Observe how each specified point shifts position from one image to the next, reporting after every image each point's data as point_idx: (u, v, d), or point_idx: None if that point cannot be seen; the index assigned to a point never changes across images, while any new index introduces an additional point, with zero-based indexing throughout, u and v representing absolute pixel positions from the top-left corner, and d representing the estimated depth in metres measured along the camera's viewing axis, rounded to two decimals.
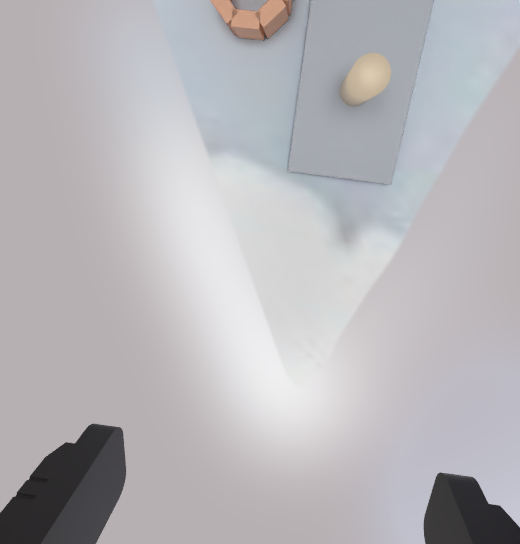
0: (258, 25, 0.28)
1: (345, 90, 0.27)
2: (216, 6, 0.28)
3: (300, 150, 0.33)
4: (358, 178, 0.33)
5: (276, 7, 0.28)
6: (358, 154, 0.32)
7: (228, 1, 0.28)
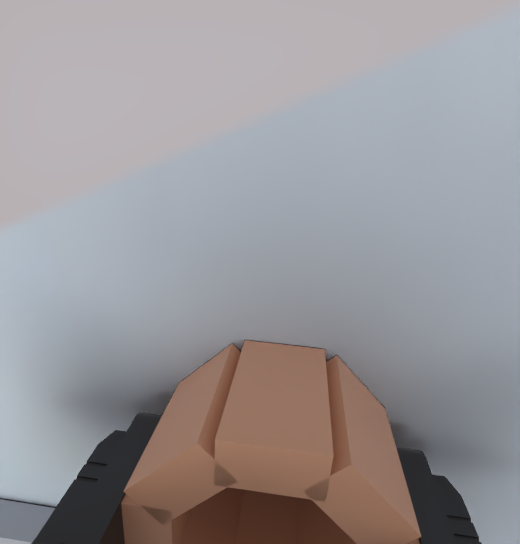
0: None
1: None
2: (172, 465, 0.07)
3: None
4: None
5: None
6: None
7: (192, 502, 0.07)
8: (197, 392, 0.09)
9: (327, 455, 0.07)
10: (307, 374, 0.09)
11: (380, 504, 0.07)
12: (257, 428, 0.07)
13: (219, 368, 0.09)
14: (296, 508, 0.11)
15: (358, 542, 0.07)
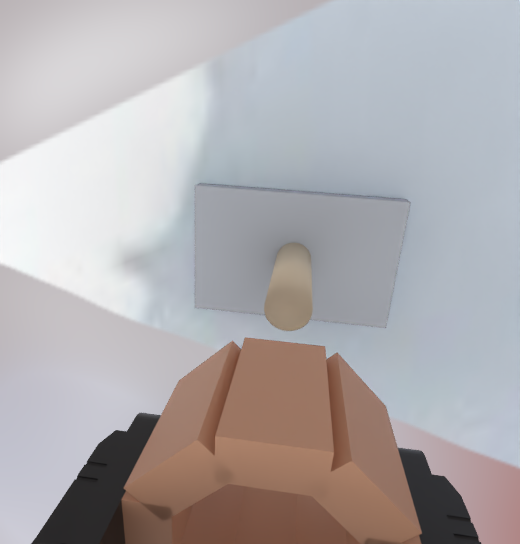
0: None
1: (283, 263, 0.22)
2: (172, 462, 0.07)
3: (222, 200, 0.26)
4: (196, 272, 0.28)
5: None
6: (223, 269, 0.27)
7: (192, 499, 0.07)
8: (197, 389, 0.09)
9: (328, 451, 0.07)
10: (307, 371, 0.09)
11: (381, 501, 0.07)
12: (257, 425, 0.07)
13: (219, 365, 0.09)
14: (296, 506, 0.11)
15: (358, 539, 0.07)
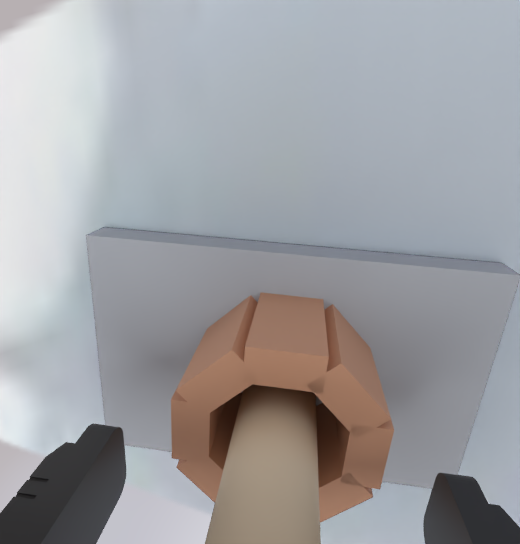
0: (180, 456, 0.11)
1: (252, 428, 0.10)
2: (213, 368, 0.10)
3: (140, 264, 0.13)
4: (105, 387, 0.15)
5: None
6: (152, 385, 0.15)
7: (226, 397, 0.10)
8: (225, 327, 0.12)
9: (324, 356, 0.09)
10: (309, 313, 0.12)
11: (361, 394, 0.10)
12: (274, 341, 0.10)
13: (242, 310, 0.12)
14: None
15: (346, 426, 0.10)
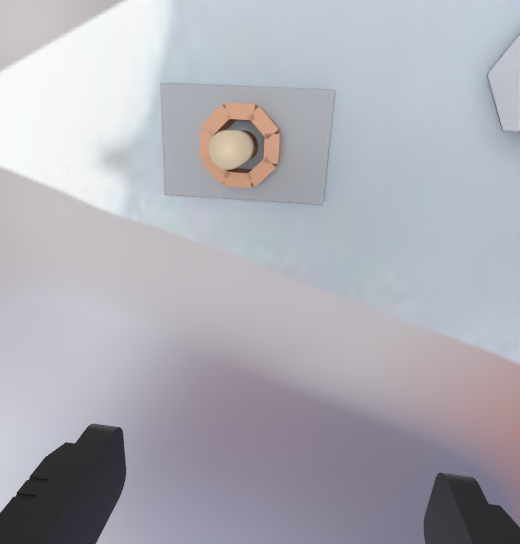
0: (202, 158, 0.29)
1: None
2: (214, 113, 0.28)
3: (183, 95, 0.31)
4: (165, 162, 0.33)
5: (218, 175, 0.30)
6: (187, 158, 0.33)
7: (219, 126, 0.28)
8: None
9: (253, 104, 0.28)
10: None
11: (267, 119, 0.28)
12: (236, 103, 0.28)
13: None
14: (252, 169, 0.32)
15: (263, 134, 0.28)
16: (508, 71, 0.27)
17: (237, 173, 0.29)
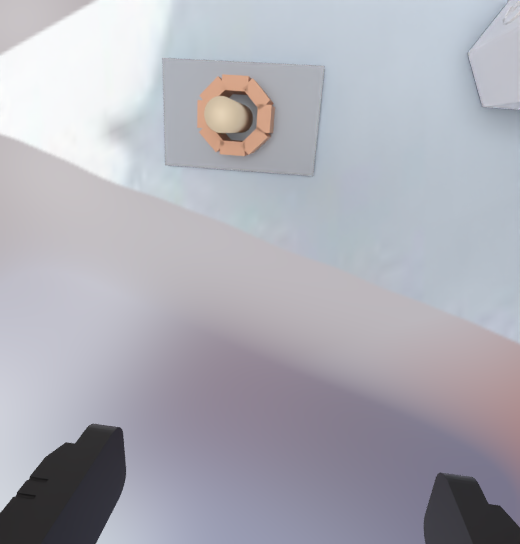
0: (200, 127, 0.31)
1: None
2: (211, 84, 0.30)
3: (183, 69, 0.33)
4: (166, 133, 0.35)
5: (214, 143, 0.32)
6: (186, 130, 0.35)
7: None
8: None
9: (247, 76, 0.30)
10: None
11: (260, 90, 0.30)
12: None
13: None
14: None
15: (256, 105, 0.30)
16: (484, 48, 0.28)
17: (232, 142, 0.32)
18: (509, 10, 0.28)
